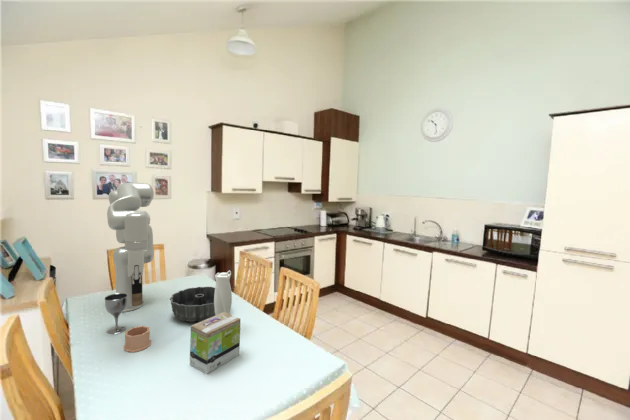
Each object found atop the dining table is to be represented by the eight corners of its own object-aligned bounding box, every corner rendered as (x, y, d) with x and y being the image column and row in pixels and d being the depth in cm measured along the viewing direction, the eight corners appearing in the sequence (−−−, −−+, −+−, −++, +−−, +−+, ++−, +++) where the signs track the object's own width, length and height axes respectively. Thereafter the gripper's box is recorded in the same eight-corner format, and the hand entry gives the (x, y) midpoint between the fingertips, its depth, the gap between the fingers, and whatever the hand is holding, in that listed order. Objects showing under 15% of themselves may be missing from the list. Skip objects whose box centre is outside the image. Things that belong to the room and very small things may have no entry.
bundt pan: (212, 299, 163) (213, 282, 162) (237, 315, 145) (237, 296, 144) (162, 313, 145) (161, 293, 144) (182, 333, 126) (182, 311, 125)
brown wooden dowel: (131, 303, 114) (131, 268, 113) (142, 301, 116) (142, 267, 115) (131, 306, 111) (131, 270, 110) (142, 305, 113) (142, 269, 112)
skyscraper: (235, 332, 128) (236, 270, 126) (219, 338, 123) (220, 273, 120) (225, 326, 133) (226, 266, 131) (210, 331, 128) (210, 269, 126)
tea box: (207, 375, 99) (207, 333, 98) (189, 365, 104) (189, 325, 103) (240, 354, 112) (241, 317, 111) (222, 346, 117) (223, 310, 116)
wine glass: (116, 335, 122) (115, 301, 121) (100, 333, 123) (99, 298, 122) (132, 327, 130) (131, 294, 128) (116, 324, 131) (116, 292, 130)
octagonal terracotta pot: (124, 343, 117) (124, 328, 116) (150, 337, 121) (150, 323, 121) (123, 354, 109) (122, 339, 108) (151, 348, 114) (151, 333, 113)
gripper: (125, 241, 117) (126, 286, 119) (123, 250, 103) (124, 300, 104) (147, 240, 121) (147, 283, 122) (148, 248, 107) (148, 297, 108)
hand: (137, 291), depth 113 cm, fingers closed on brown wooden dowel, 3 cm apart
